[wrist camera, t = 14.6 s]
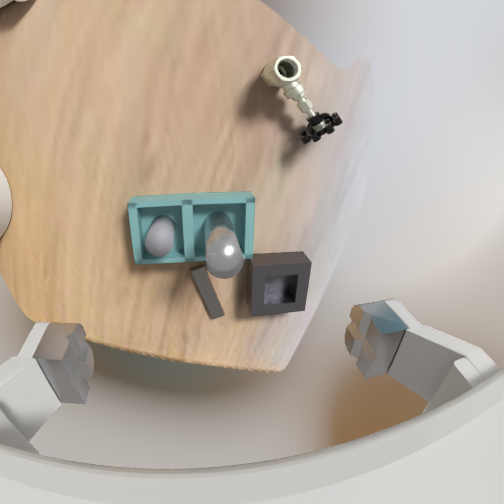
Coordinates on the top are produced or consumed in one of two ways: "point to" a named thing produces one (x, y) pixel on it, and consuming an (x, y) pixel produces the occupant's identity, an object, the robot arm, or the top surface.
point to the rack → (186, 224)
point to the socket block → (277, 282)
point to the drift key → (207, 291)
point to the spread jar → (8, 2)
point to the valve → (298, 96)
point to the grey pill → (222, 246)
